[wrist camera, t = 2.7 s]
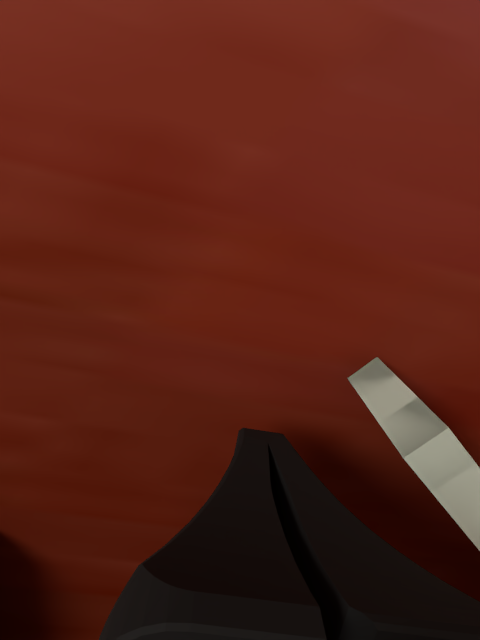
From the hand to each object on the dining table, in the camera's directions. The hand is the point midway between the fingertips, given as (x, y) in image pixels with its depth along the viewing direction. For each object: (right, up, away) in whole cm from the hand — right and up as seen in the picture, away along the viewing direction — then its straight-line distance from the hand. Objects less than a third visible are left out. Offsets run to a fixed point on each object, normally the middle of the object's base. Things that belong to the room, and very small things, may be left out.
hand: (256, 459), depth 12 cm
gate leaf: (+8, -3, +3) cm, 9 cm away
